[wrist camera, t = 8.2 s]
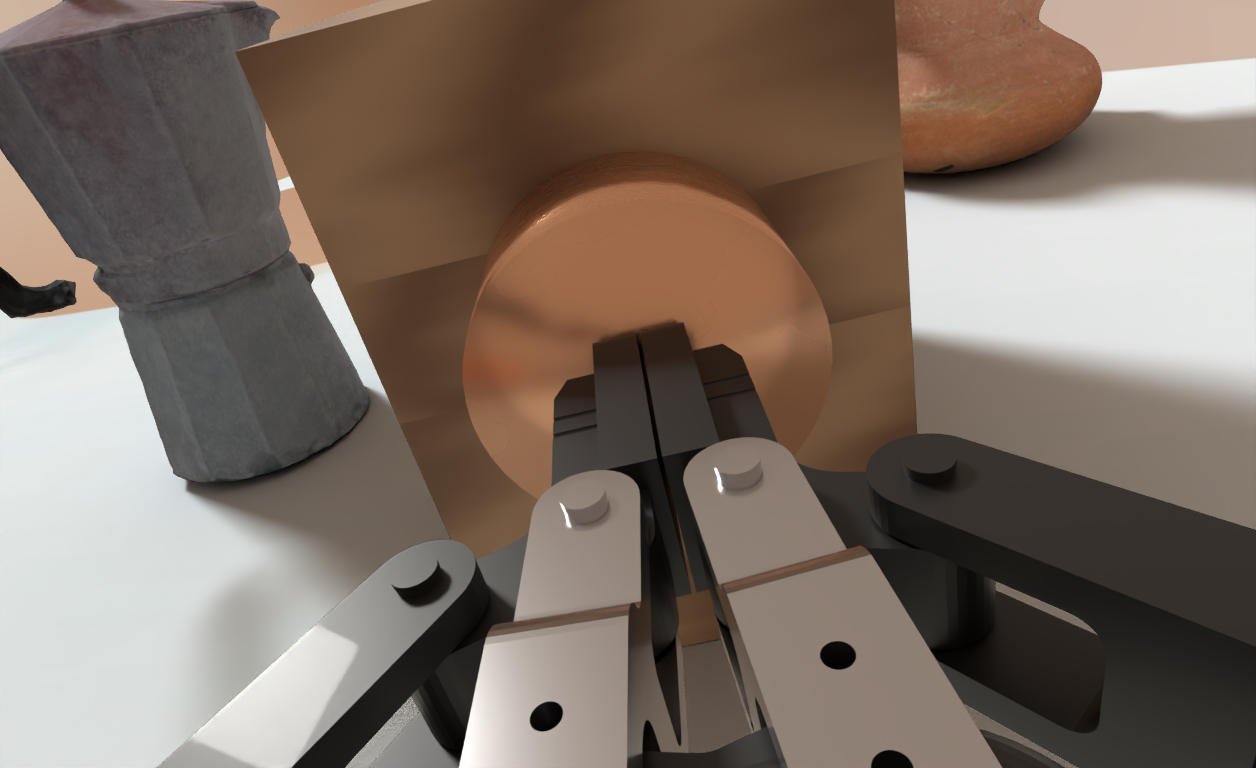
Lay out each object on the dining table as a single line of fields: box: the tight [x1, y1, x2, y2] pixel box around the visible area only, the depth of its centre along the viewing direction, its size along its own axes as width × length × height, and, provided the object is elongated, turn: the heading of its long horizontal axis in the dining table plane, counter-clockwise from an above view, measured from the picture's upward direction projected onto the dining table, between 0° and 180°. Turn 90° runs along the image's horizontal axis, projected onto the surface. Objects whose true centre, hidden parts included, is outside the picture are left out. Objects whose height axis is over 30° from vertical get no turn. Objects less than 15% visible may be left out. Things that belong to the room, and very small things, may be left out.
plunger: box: [463, 151, 832, 522], centre depth 22 cm, size 6×21×6 cm, turn 3°
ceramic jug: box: [894, 0, 1102, 173], centre depth 45 cm, size 18×14×14 cm
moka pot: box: [0, 0, 370, 482], centre depth 32 cm, size 10×15×20 cm, turn 135°
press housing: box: [235, 0, 917, 647], centre depth 25 cm, size 11×18×16 cm, turn 3°
